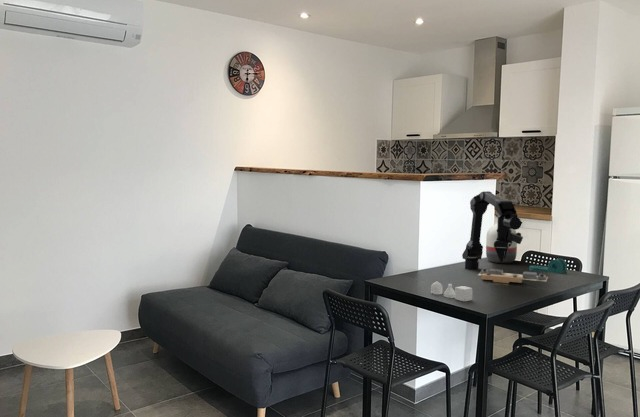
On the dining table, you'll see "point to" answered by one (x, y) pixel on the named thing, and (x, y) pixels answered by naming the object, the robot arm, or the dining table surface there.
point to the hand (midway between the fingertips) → (502, 260)
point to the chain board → (521, 276)
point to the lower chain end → (492, 271)
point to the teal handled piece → (552, 267)
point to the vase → (491, 250)
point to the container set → (459, 294)
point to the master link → (501, 278)
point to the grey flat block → (533, 275)
